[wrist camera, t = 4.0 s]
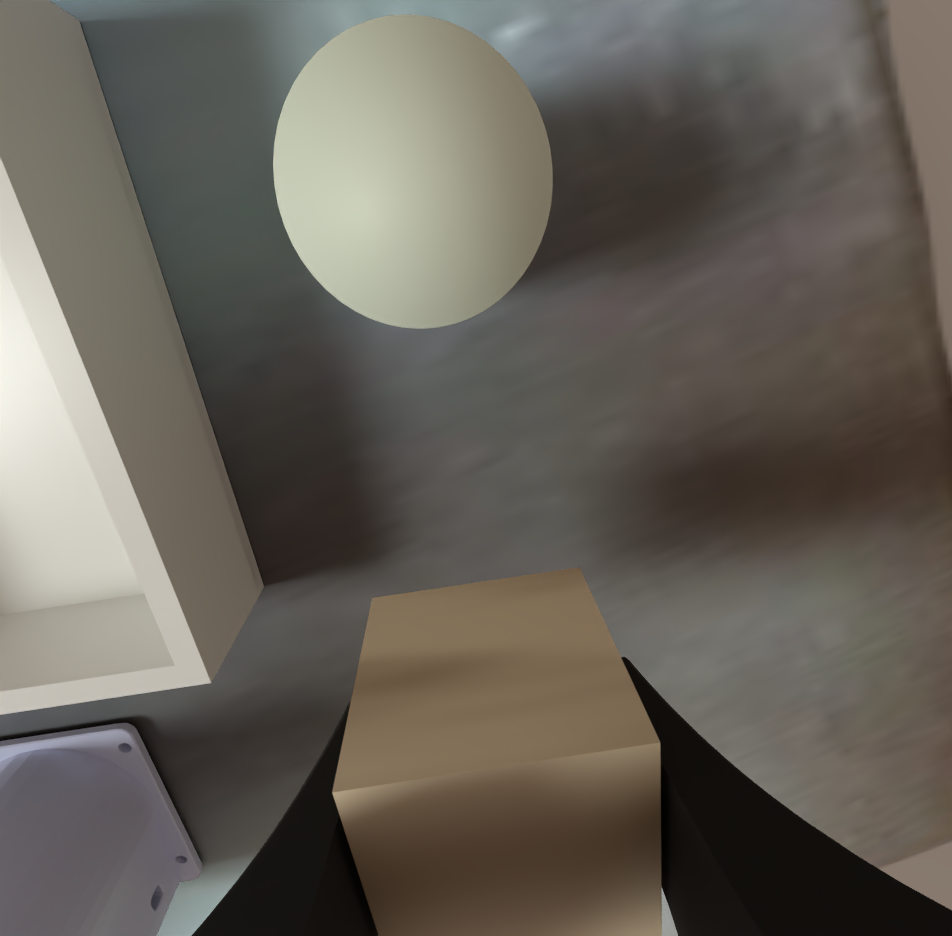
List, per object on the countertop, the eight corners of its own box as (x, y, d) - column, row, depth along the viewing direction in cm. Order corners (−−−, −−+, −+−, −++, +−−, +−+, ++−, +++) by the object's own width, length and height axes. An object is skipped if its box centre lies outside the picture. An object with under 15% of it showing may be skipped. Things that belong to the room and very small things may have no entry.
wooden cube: (590, 723, 14) (661, 941, 10) (409, 751, 14) (394, 983, 10) (579, 567, 13) (659, 742, 8) (372, 597, 13) (331, 792, 8)
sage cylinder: (515, 293, 17) (562, 309, 10) (361, 315, 17) (311, 345, 10) (497, 111, 15) (540, -6, 9) (325, 135, 15) (237, 35, 9)
